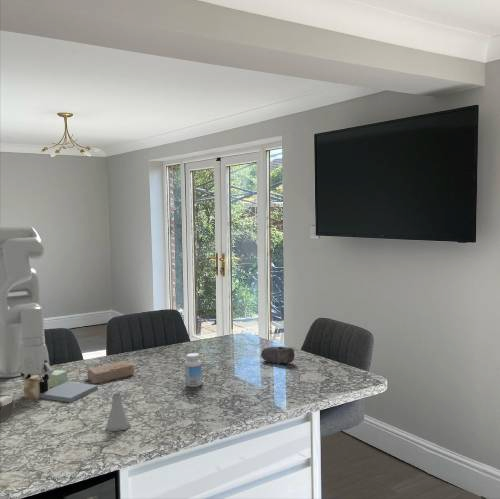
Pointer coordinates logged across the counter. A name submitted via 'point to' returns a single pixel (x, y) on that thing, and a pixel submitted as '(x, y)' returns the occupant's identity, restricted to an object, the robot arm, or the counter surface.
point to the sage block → (57, 378)
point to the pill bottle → (193, 370)
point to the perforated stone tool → (278, 355)
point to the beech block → (33, 387)
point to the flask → (117, 415)
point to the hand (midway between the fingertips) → (36, 390)
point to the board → (68, 391)
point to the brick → (110, 372)
